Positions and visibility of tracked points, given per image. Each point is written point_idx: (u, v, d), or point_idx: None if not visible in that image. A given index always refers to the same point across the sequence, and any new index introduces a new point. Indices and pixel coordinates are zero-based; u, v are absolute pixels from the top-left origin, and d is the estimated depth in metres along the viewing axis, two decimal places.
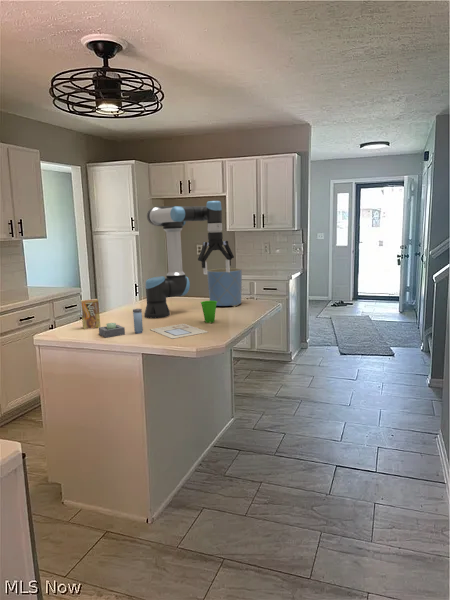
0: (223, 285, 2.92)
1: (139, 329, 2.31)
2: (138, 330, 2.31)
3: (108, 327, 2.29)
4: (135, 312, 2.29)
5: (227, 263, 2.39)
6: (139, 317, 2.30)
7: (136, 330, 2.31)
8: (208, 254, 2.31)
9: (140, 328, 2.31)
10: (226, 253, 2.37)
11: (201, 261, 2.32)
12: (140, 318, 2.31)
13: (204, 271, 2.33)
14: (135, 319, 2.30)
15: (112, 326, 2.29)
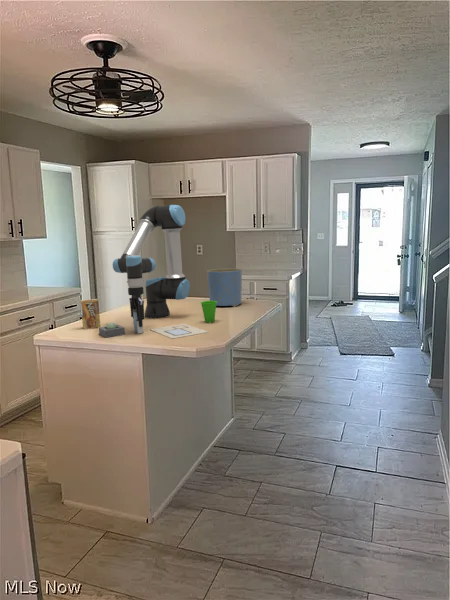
0: (223, 285, 2.92)
1: None
2: None
3: (108, 327, 2.29)
4: (135, 312, 2.29)
5: None
6: None
7: (136, 330, 2.31)
8: None
9: None
10: (137, 312, 2.28)
11: None
12: None
13: None
14: (135, 319, 2.30)
15: (112, 326, 2.29)
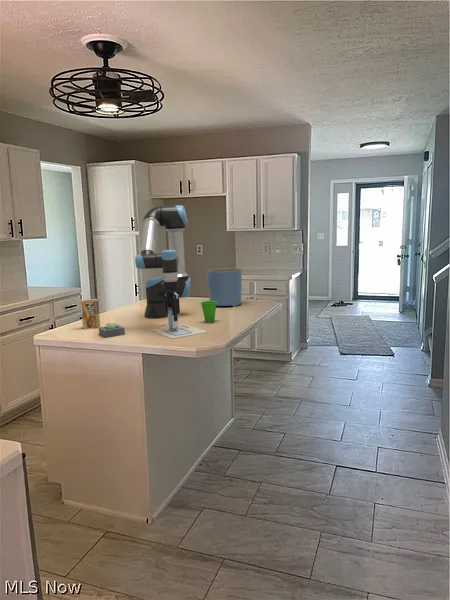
0: (223, 285, 2.92)
1: None
2: (173, 328, 2.30)
3: (108, 327, 2.29)
4: (171, 310, 2.29)
5: None
6: None
7: (171, 328, 2.31)
8: (167, 305, 2.32)
9: None
10: (172, 307, 2.28)
11: None
12: None
13: None
14: (170, 317, 2.30)
15: (112, 326, 2.29)
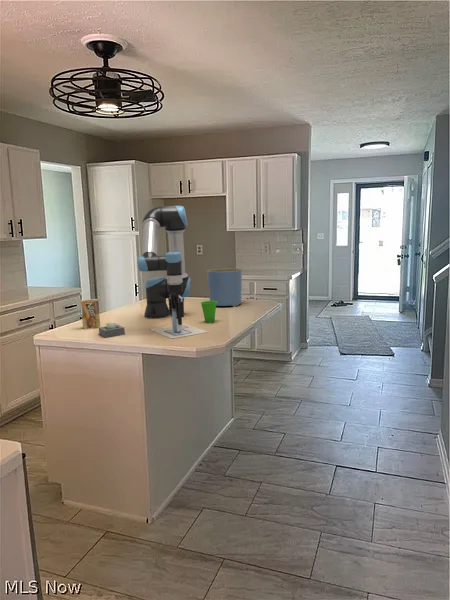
0: (223, 285, 2.92)
1: None
2: None
3: (108, 327, 2.29)
4: (175, 311, 2.25)
5: None
6: None
7: (175, 329, 2.27)
8: (171, 308, 2.28)
9: None
10: (176, 310, 2.24)
11: None
12: None
13: None
14: (174, 318, 2.26)
15: (112, 326, 2.29)
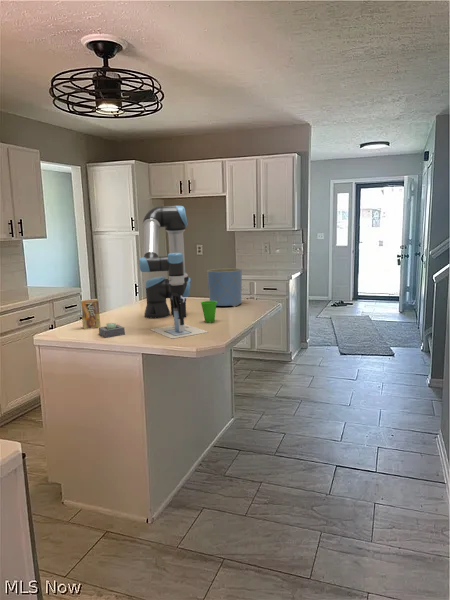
0: (223, 285, 2.92)
1: None
2: None
3: (108, 327, 2.29)
4: (177, 311, 2.26)
5: None
6: None
7: (177, 329, 2.28)
8: None
9: None
10: (178, 310, 2.25)
11: None
12: None
13: None
14: (175, 318, 2.27)
15: (112, 326, 2.29)
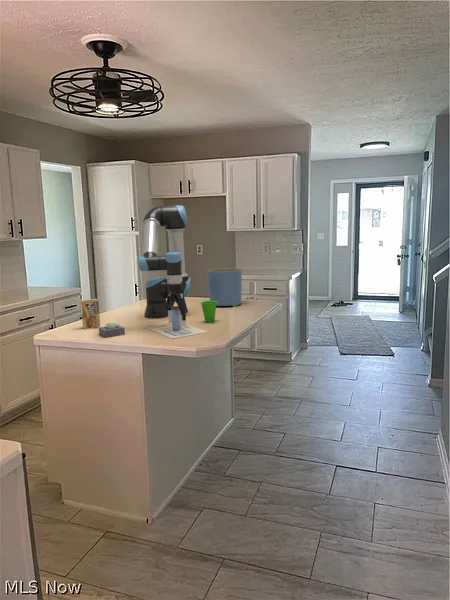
0: (223, 285, 2.92)
1: (178, 326, 2.31)
2: (177, 327, 2.31)
3: (108, 327, 2.29)
4: (174, 310, 2.30)
5: None
6: (178, 314, 2.31)
7: (175, 327, 2.31)
8: (169, 304, 2.35)
9: (178, 325, 2.31)
10: (179, 307, 2.26)
11: None
12: (178, 315, 2.31)
13: None
14: (173, 317, 2.30)
15: (112, 326, 2.29)
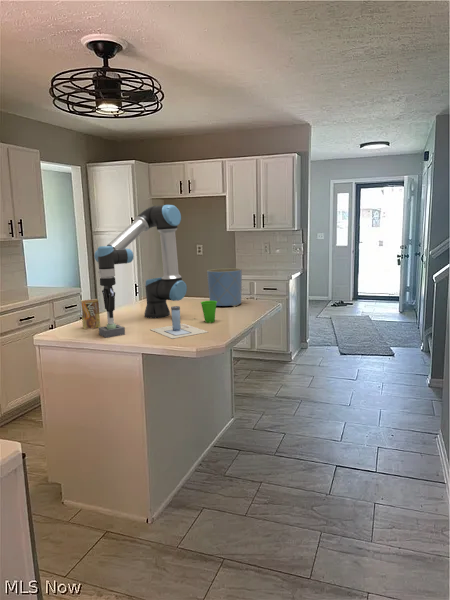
0: (223, 285, 2.92)
1: (178, 326, 2.31)
2: (177, 327, 2.31)
3: (108, 328, 2.29)
4: (174, 310, 2.30)
5: None
6: (178, 314, 2.30)
7: (175, 327, 2.31)
8: (106, 302, 2.29)
9: (178, 325, 2.31)
10: (107, 303, 2.27)
11: None
12: (178, 315, 2.31)
13: None
14: (173, 317, 2.30)
15: (112, 327, 2.29)
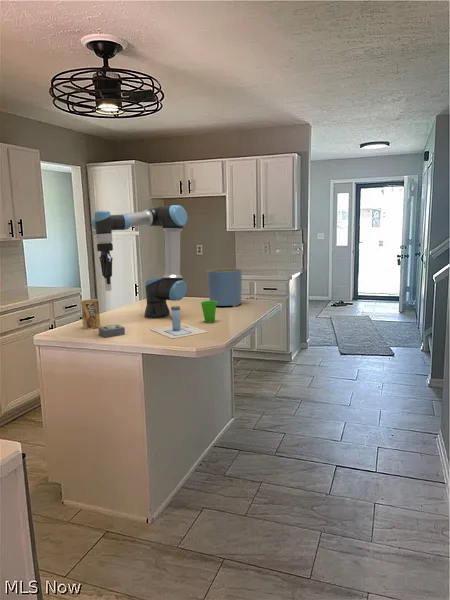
0: (223, 285, 2.92)
1: (178, 326, 2.31)
2: (177, 327, 2.31)
3: None
4: (174, 310, 2.30)
5: None
6: (178, 314, 2.31)
7: (175, 327, 2.31)
8: (103, 268, 2.27)
9: (178, 325, 2.31)
10: (105, 269, 2.25)
11: None
12: (179, 315, 2.31)
13: None
14: (173, 317, 2.30)
15: (112, 328, 2.29)
